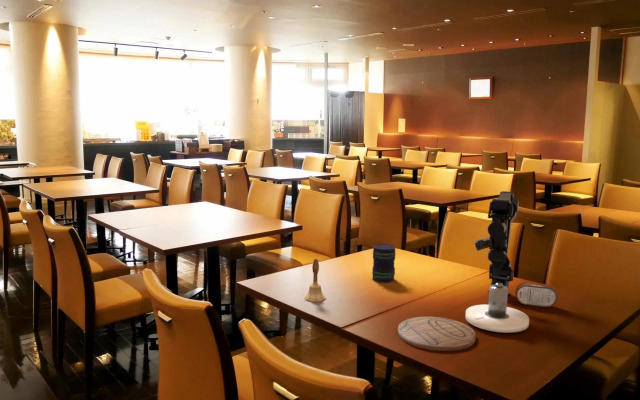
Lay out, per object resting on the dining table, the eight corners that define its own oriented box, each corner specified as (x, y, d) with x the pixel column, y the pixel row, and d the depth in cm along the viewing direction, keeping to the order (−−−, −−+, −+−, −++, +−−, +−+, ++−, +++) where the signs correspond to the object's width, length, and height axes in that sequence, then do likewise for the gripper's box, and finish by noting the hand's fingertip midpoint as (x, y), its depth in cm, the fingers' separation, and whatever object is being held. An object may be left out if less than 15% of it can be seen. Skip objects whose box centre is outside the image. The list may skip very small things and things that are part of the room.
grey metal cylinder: (499, 311, 188) (501, 280, 187) (509, 317, 183) (511, 285, 181) (484, 312, 187) (486, 281, 185) (494, 318, 181) (496, 287, 179)
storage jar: (398, 278, 235) (399, 245, 233) (388, 284, 227) (389, 250, 225) (378, 274, 241) (379, 242, 238) (368, 280, 232) (369, 247, 230)
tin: (556, 306, 203) (558, 285, 201) (557, 309, 200) (559, 287, 198) (514, 301, 207) (516, 281, 206) (514, 304, 204) (516, 283, 203)
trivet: (426, 358, 158) (426, 352, 158) (383, 327, 181) (383, 322, 181) (492, 345, 168) (492, 339, 168) (444, 317, 191) (444, 312, 190)
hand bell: (307, 294, 213) (307, 255, 211) (327, 295, 211) (327, 257, 209) (302, 301, 205) (302, 261, 203) (323, 303, 203) (323, 262, 201)
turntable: (498, 306, 199) (498, 301, 198) (542, 326, 180) (542, 320, 180) (453, 314, 190) (453, 309, 190) (494, 336, 171) (495, 330, 171)
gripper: (478, 226, 210) (476, 264, 212) (474, 235, 192) (472, 277, 195) (508, 228, 206) (505, 267, 208) (507, 238, 189) (504, 280, 191)
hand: (496, 272), depth 201 cm, fingers open, 9 cm apart
